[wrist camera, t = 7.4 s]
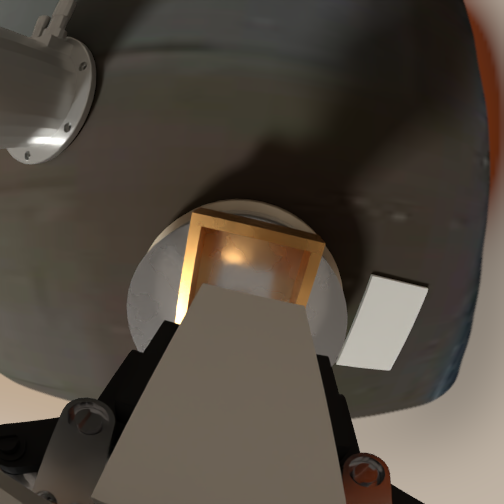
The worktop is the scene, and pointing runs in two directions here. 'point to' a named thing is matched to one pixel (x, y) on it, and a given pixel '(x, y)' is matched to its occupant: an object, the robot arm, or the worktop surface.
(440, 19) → the worktop surface
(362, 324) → the mat
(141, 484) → the white rectangular block
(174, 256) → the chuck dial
